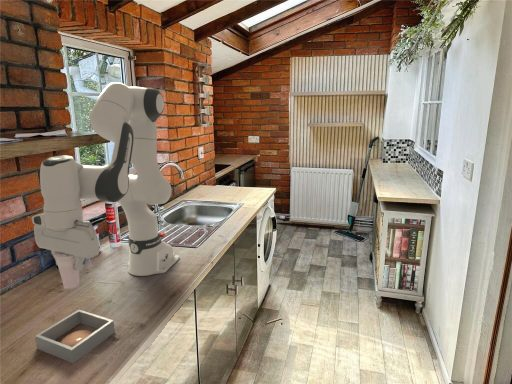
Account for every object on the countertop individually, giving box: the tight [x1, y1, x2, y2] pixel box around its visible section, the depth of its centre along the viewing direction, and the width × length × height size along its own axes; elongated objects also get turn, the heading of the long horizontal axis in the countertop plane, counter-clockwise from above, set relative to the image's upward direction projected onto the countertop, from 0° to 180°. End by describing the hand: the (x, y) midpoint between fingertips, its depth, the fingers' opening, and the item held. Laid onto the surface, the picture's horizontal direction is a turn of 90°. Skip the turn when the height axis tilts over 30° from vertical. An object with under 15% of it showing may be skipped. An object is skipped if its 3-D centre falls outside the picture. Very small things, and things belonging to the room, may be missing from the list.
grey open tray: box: [34, 309, 116, 364], centre depth 98 cm, size 14×14×4 cm
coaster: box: [60, 329, 93, 347], centre depth 99 cm, size 8×8×1 cm
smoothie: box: [54, 252, 81, 290], centre depth 94 cm, size 6×6×14 cm
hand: (69, 267), depth 94 cm, fingers closed on smoothie, 5 cm apart
